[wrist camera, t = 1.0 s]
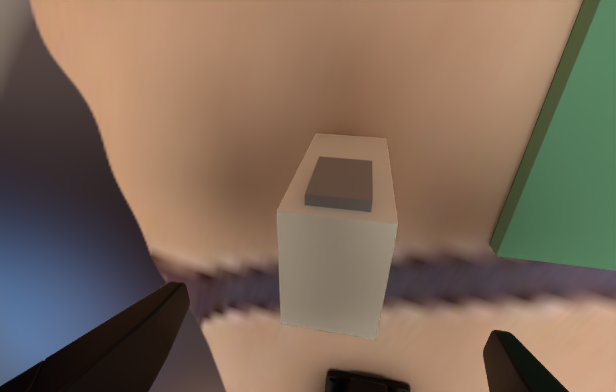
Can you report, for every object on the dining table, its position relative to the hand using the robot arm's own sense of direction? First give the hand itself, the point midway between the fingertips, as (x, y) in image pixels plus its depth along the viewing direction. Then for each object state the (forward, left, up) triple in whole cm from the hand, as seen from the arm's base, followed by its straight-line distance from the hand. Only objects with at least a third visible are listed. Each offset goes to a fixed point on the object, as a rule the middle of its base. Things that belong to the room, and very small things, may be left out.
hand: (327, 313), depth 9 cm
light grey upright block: (0, 0, -9) cm, 9 cm away
